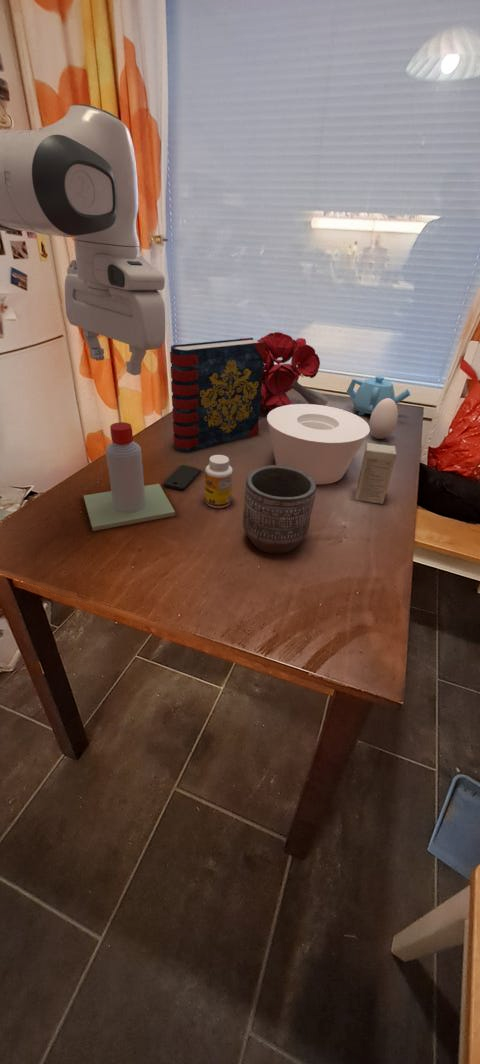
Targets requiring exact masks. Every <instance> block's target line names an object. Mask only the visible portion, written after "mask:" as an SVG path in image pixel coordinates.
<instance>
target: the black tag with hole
mask: <svg viewBox="0 0 480 1064" xmlns="http://www.w3.org/2000/svg"><path fill="white" fill-rule="evenodd" d="M201 472H202V469H199V468H197V467H195V466H190V465H185V464H182V465H180V466H179V467H178V468H177V469H176V470H175V471H174V472H172V474H171V475H169V477H168V478H166V479H165V480H164V482H163V487H165V488H169V489H173V490H178V491H185V490H186V489H187V488H188V487H189V485H190V484H191V483H192V482H193V481H194V480H195V479H196V478H197V477H198V476H199V474H201Z"/></svg>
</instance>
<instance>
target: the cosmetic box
mask: <svg viewBox="0 0 480 1064" xmlns="http://www.w3.org/2000/svg"><path fill="white" fill-rule="evenodd" d="M396 458H397V448H396V445H390V444H380V443H373V442H366V444H365V448H364V454H363V457H362V461H361V467H360V471H359V475H358V479H357V484H356V488H355V496H354V499H355V500H356V501H360V502H367V503H373V504H381V505H382V504H383V505H384V502H385V498H386V495H387V490H388V487H389V484H390V480H391V476H392V472H393V469H394V465H395V461H396Z"/></svg>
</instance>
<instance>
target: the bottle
mask: <svg viewBox="0 0 480 1064" xmlns="http://www.w3.org/2000/svg"><path fill="white" fill-rule="evenodd" d="M105 457H106V462H107V464H106V465H107V470H108V478H109V484H110V491H111V492H112V500H113V506H114V508H115V509H116V510H118V511H121V512H134V511H138V510H140V509H142V508H143V507H144V506H145V504H146V501H145V489H144V486H145V479H144V478H145V477H144V467H143V456H142V448H141V446H140V444H138V443H137V442H135V441H134V440H133V441H132V442H131V443H129V444H124V445H118V444H115V443H113V442H112V441H111V443H109V444H108V445H107V446H106V448H105Z"/></svg>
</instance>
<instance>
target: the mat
mask: <svg viewBox="0 0 480 1064" xmlns="http://www.w3.org/2000/svg"><path fill="white" fill-rule="evenodd" d="M144 489H145V501H146V504H145V506H144V507H143V508H142V509H140V510H138V511H134V512H121V511H118V510H116V509H115V508H114V506H113V500H112V492H111V490H109V491H103V492H97V493H90V494H84V495H83V501H84V504H85V508H86V511H87V515H88V519H89V523H90V526H91V529H92V532H95V531H96V532H97V531H101V530H106V529H112V528H117V527H123V526H127V525H133V524H138V523H143V522H150V521H154V520H159V519H160V520H161V519H165V518H170V517H171V518H172V517H176V511H175V509H174V508H173V506H172V504H171V502H170V500H169V498H168V497H167V495H166V494H165V492H164V489H163V488H162V486H161V484H160V483H154V484H149V485H144Z"/></svg>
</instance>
